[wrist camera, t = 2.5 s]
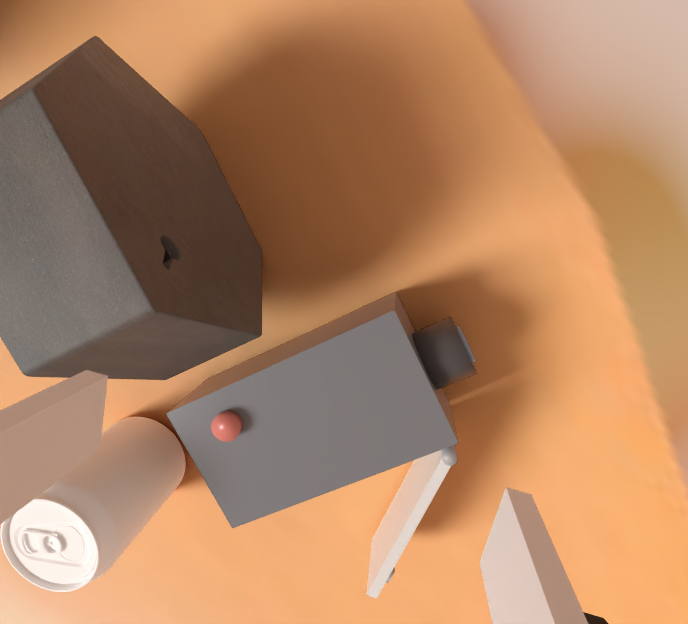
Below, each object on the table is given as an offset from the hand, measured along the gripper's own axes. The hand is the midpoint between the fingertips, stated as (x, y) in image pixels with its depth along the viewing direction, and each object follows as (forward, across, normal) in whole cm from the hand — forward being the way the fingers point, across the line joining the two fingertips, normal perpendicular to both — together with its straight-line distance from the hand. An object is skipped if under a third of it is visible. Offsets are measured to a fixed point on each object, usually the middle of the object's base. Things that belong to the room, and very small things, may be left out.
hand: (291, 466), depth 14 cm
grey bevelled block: (+23, -15, +4) cm, 28 cm away
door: (+23, +8, -13) cm, 27 cm away
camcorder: (+23, 0, -6) cm, 24 cm away
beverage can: (+23, -16, -18) cm, 33 cm away
